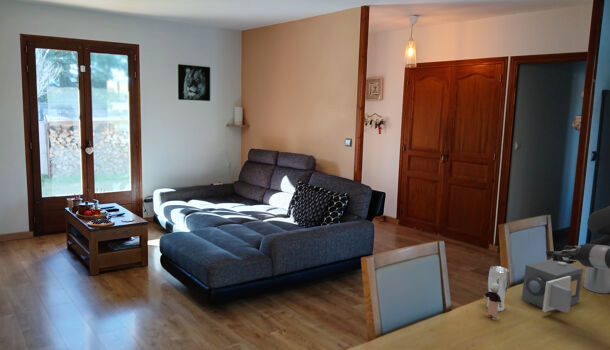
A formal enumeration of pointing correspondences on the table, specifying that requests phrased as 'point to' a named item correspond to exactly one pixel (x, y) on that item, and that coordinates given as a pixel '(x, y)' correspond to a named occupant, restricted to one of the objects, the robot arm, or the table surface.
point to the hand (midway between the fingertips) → (556, 251)
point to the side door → (558, 295)
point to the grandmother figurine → (493, 301)
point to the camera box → (546, 272)
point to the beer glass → (499, 282)
